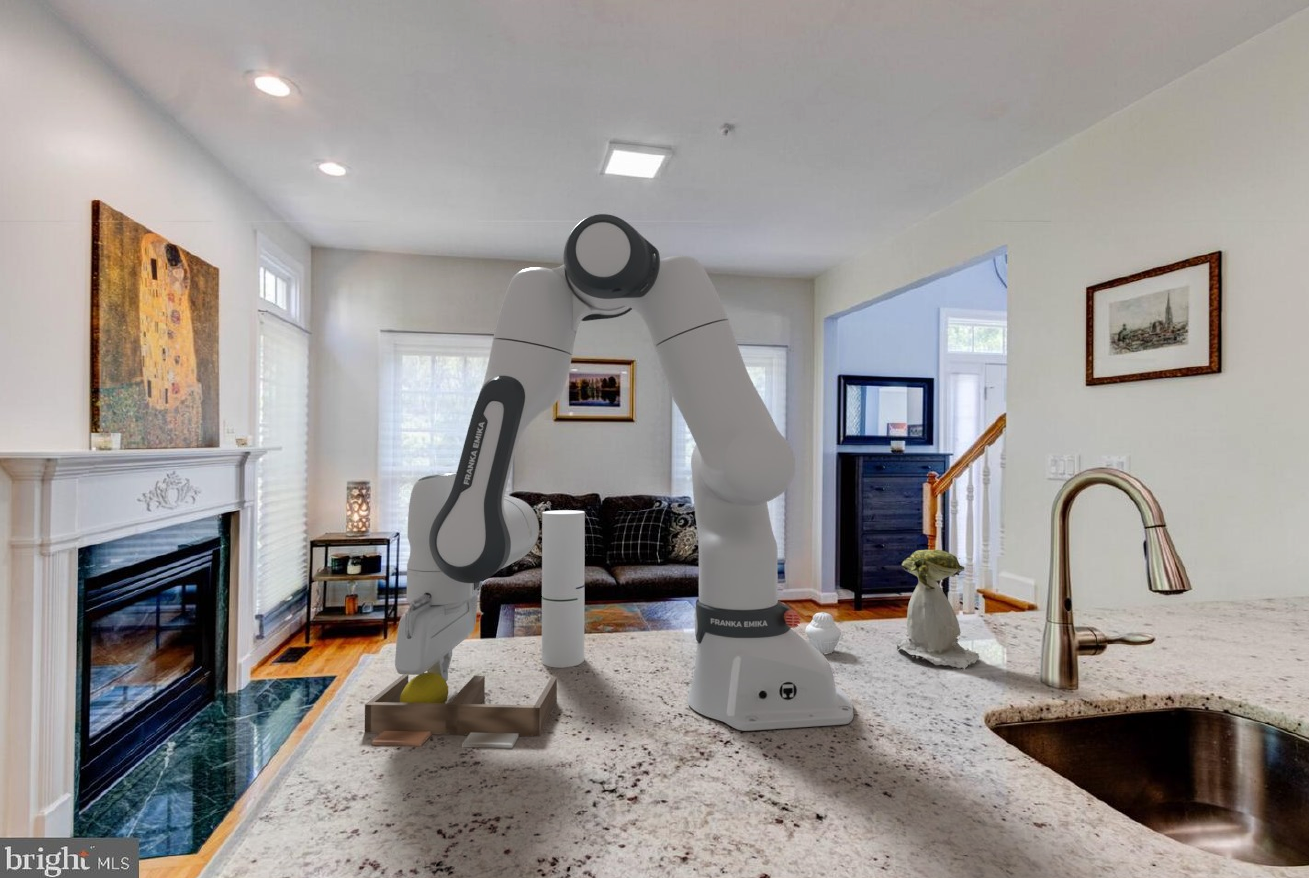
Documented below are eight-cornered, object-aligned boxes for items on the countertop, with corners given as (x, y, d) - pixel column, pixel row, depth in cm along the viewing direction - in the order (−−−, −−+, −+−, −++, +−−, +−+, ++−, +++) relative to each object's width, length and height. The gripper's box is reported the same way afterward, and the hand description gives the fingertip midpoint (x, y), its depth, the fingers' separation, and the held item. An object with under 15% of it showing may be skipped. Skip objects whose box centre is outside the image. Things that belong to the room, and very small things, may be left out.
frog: (934, 673, 101) (933, 557, 102) (881, 649, 114) (880, 546, 114) (993, 665, 105) (992, 553, 106) (935, 642, 117) (935, 543, 118)
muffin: (838, 658, 108) (837, 617, 108) (802, 654, 111) (801, 613, 111) (843, 648, 114) (843, 609, 114) (809, 644, 116) (809, 606, 117)
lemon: (455, 706, 88) (425, 735, 80) (419, 698, 89) (385, 725, 81) (460, 667, 88) (431, 692, 80) (423, 659, 89) (390, 683, 81)
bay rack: (556, 702, 89) (556, 677, 89) (533, 748, 75) (533, 718, 75) (402, 699, 90) (402, 674, 90) (351, 744, 76) (351, 714, 76)
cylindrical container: (592, 658, 109) (593, 511, 109) (565, 670, 103) (566, 514, 103) (560, 651, 112) (561, 509, 113) (532, 662, 106) (533, 512, 107)
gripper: (431, 604, 80) (430, 715, 79) (484, 573, 100) (483, 661, 100) (382, 603, 80) (380, 714, 80) (445, 572, 100) (444, 660, 100)
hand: (438, 684), depth 90 cm, fingers closed
